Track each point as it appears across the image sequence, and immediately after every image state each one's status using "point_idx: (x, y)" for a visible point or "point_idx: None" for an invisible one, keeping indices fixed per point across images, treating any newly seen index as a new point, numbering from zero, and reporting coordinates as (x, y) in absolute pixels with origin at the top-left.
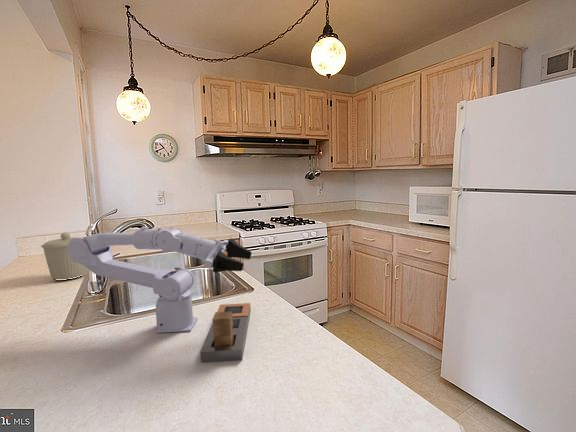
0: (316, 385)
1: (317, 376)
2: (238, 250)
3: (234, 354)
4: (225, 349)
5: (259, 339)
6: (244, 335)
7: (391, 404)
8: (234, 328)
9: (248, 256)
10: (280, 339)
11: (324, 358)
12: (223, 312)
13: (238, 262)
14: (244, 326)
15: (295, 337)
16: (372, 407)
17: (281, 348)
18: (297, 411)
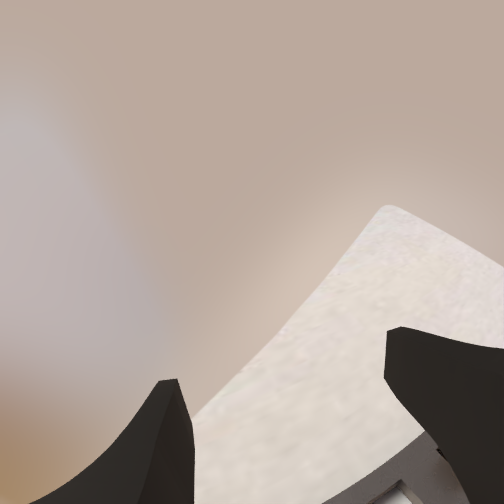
0: (427, 276)
1: (411, 284)
2: (168, 483)
3: None
4: None
5: (377, 432)
6: (423, 432)
7: (395, 226)
8: (409, 485)
9: (188, 419)
10: (349, 391)
11: (364, 298)
12: None
13: (424, 332)
14: (382, 470)
15: (323, 370)
16: (412, 233)
17: (382, 367)
18: (476, 268)
